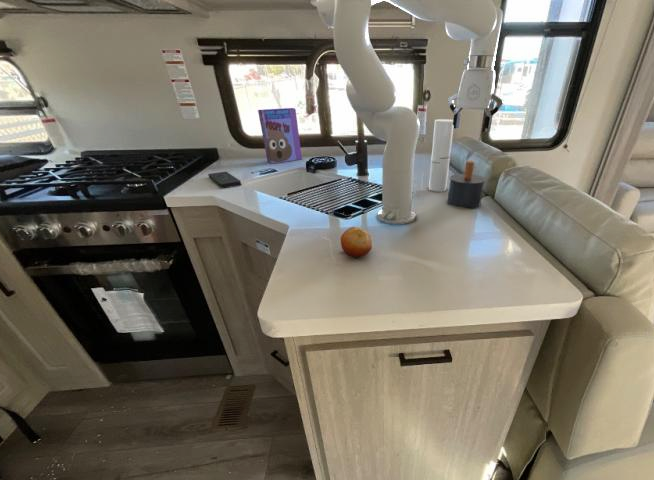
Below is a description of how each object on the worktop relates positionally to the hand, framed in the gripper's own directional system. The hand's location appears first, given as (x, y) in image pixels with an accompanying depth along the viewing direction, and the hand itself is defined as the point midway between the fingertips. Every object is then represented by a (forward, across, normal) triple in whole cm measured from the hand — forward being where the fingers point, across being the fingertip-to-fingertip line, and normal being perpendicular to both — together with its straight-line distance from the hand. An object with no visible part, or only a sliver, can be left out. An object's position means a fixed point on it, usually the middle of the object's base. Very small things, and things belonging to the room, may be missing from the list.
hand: (470, 129), depth 105 cm
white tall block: (+24, -14, +14) cm, 31 cm away
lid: (+16, +2, +2) cm, 16 cm away
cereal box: (+25, -103, +19) cm, 107 cm away
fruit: (+26, -10, -52) cm, 59 cm away
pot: (+24, +2, +2) cm, 24 cm away
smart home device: (+26, -97, -24) cm, 103 cm away
